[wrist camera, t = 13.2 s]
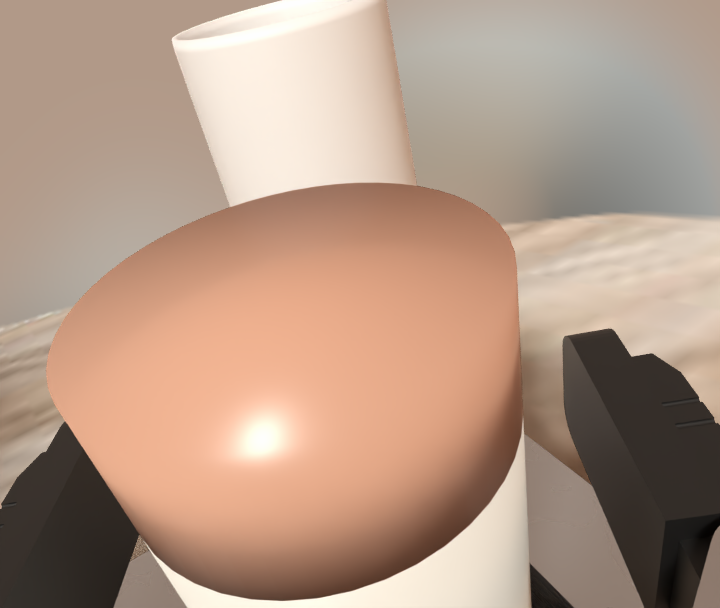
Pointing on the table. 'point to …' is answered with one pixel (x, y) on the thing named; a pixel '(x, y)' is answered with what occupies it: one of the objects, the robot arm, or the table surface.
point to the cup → (298, 96)
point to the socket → (546, 548)
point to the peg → (313, 401)
